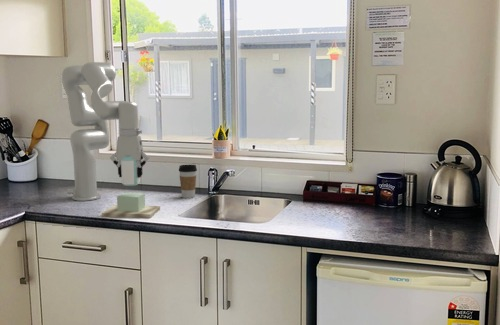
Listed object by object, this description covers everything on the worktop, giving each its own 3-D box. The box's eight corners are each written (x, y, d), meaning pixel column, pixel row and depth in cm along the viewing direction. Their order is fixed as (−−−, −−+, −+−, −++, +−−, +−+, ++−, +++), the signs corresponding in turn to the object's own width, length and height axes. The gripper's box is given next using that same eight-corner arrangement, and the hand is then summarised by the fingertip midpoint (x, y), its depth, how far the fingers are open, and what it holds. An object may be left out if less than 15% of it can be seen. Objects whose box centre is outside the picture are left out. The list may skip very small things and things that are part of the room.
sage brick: (117, 210, 221) (117, 196, 221) (124, 206, 228) (124, 192, 227) (138, 211, 220) (138, 197, 219) (145, 207, 227) (144, 193, 226)
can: (118, 184, 222) (117, 155, 220) (133, 182, 227) (132, 153, 225) (128, 186, 217) (126, 157, 215) (143, 184, 222) (142, 155, 220)
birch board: (101, 216, 218) (101, 212, 218) (114, 208, 232) (114, 204, 232) (150, 218, 216) (150, 214, 216) (160, 209, 230) (160, 206, 230)
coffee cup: (188, 199, 249) (188, 166, 247) (175, 197, 254) (174, 165, 252) (201, 196, 255) (200, 164, 253) (188, 194, 260) (187, 162, 258)
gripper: (152, 132, 222) (154, 175, 224) (111, 132, 224) (113, 175, 226) (147, 134, 214) (148, 178, 217) (104, 133, 216) (106, 178, 219)
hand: (130, 176), depth 222 cm, fingers closed on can, 7 cm apart
